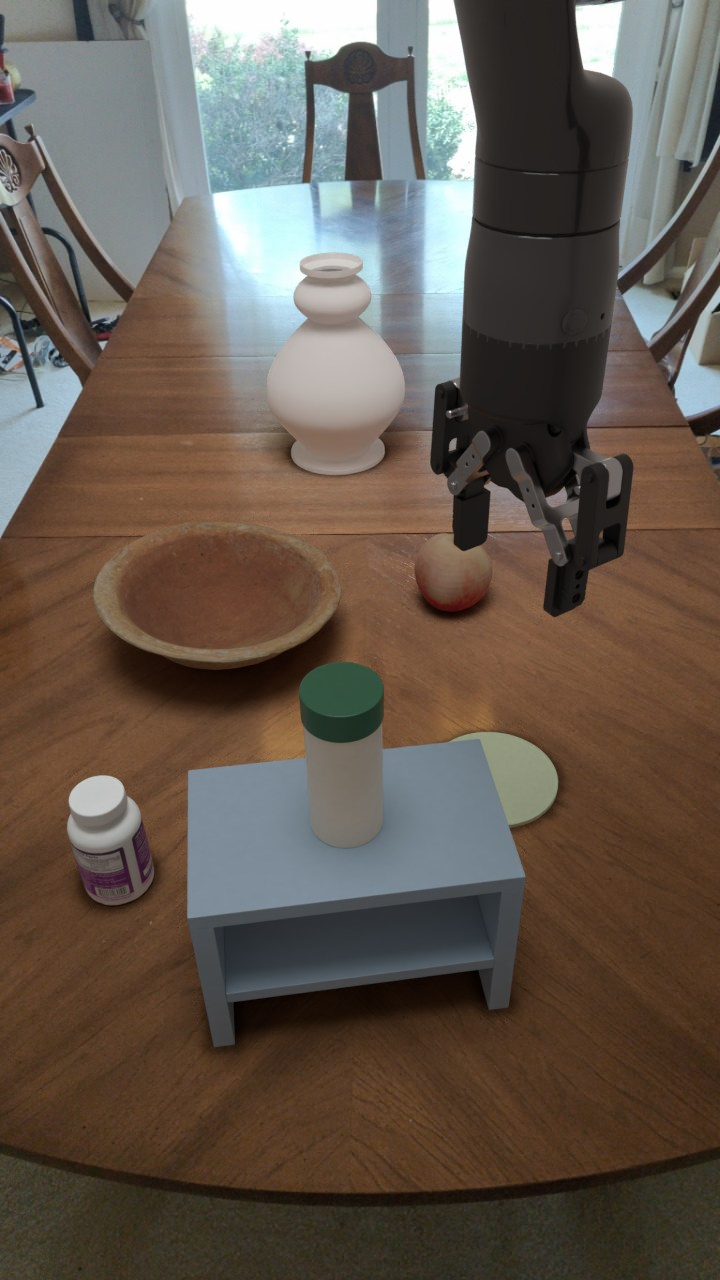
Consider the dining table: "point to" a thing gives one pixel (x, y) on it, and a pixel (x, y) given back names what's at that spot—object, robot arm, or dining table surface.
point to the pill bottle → (109, 841)
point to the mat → (518, 775)
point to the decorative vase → (335, 372)
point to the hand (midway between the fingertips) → (513, 576)
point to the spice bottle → (343, 752)
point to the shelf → (350, 882)
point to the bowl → (217, 593)
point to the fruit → (452, 573)
